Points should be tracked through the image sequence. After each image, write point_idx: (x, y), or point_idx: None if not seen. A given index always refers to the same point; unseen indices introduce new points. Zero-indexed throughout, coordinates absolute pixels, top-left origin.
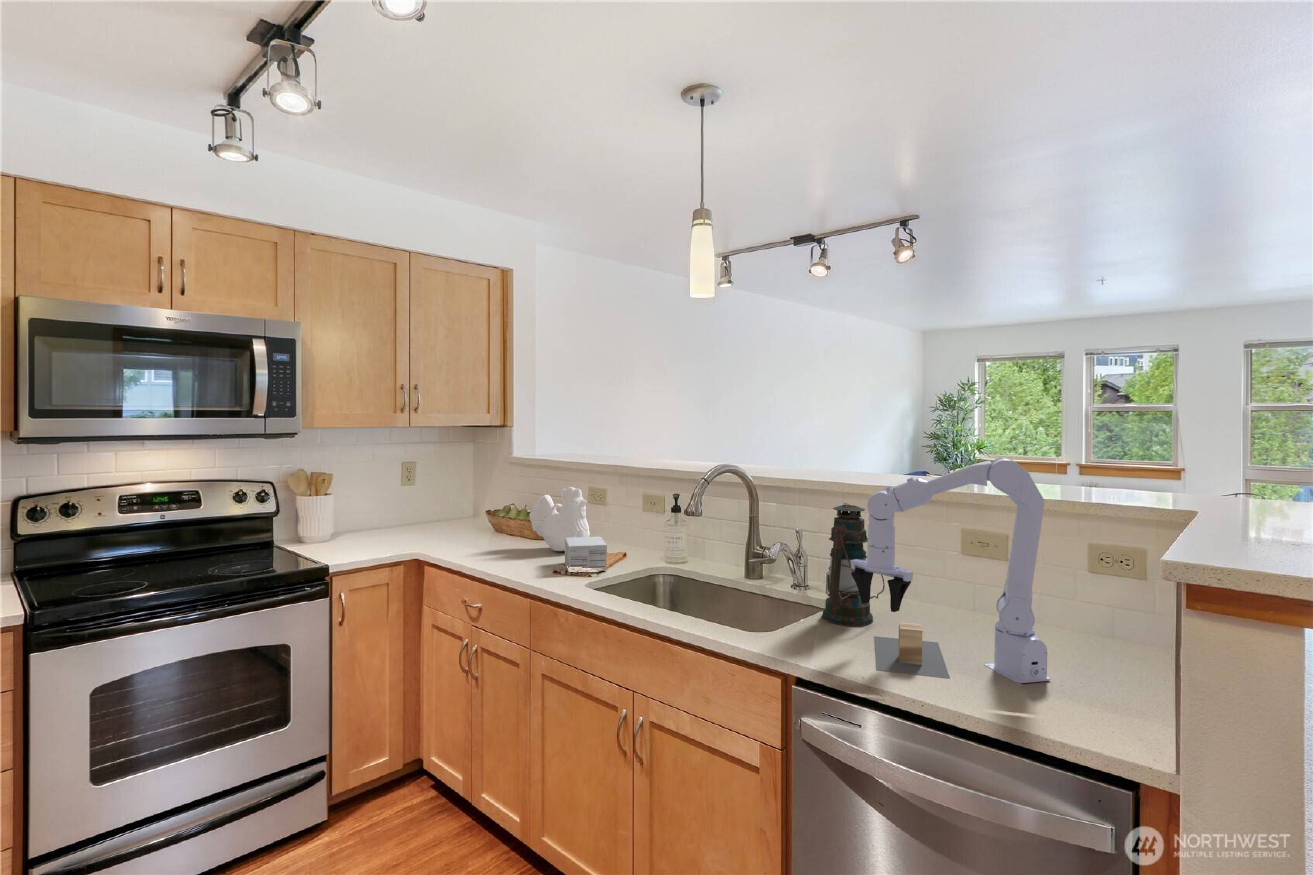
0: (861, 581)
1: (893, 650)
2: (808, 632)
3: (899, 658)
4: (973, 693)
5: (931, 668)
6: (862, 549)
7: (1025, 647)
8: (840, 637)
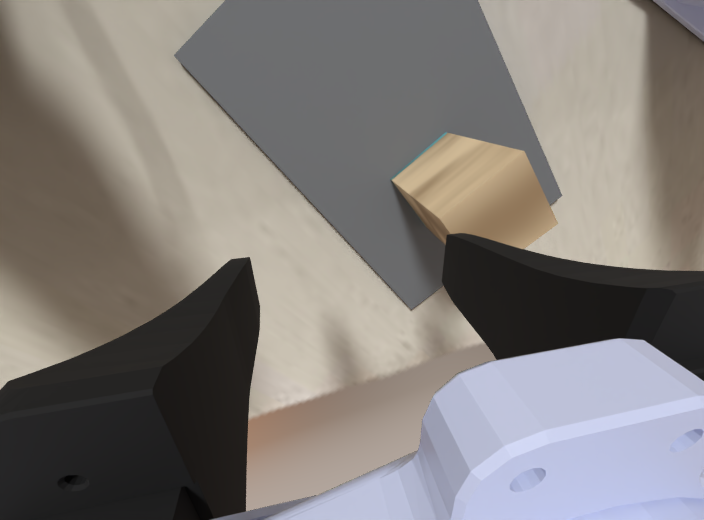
0: (244, 459)
1: (345, 143)
2: (6, 250)
3: (427, 227)
4: (614, 210)
5: None
6: None
7: None
8: (112, 182)
